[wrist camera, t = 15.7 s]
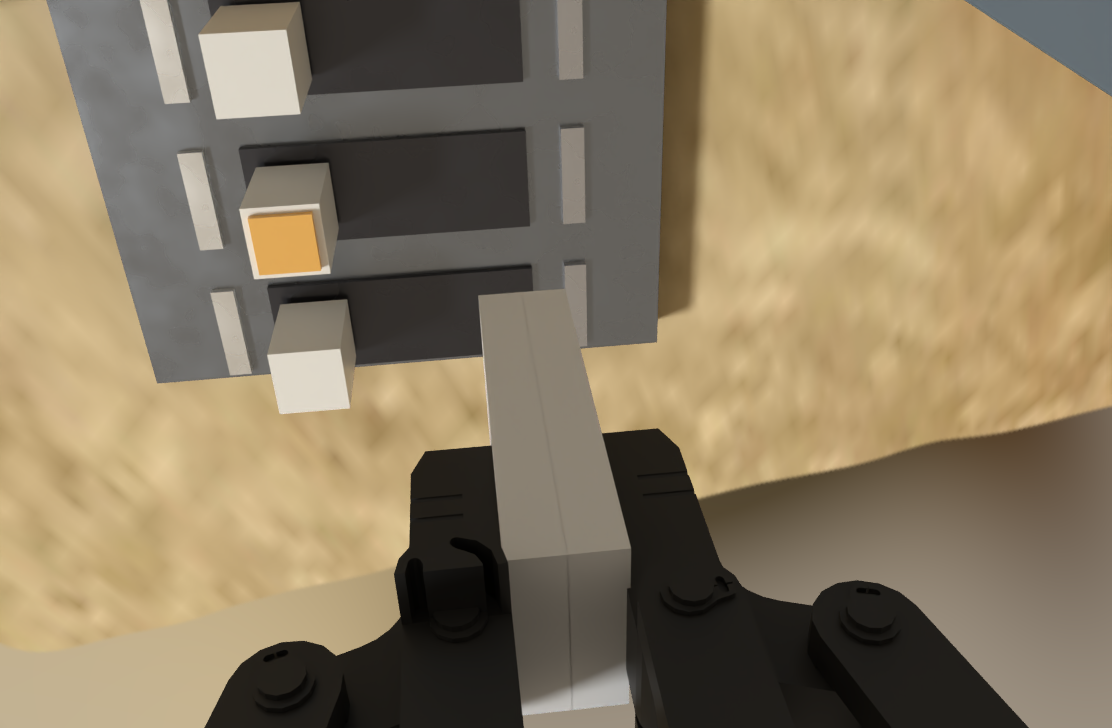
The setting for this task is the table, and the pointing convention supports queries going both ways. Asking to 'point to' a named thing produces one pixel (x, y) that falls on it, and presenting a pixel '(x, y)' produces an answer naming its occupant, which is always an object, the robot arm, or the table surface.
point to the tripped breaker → (290, 221)
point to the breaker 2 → (312, 356)
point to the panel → (384, 170)
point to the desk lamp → (1062, 32)
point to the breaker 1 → (256, 60)
